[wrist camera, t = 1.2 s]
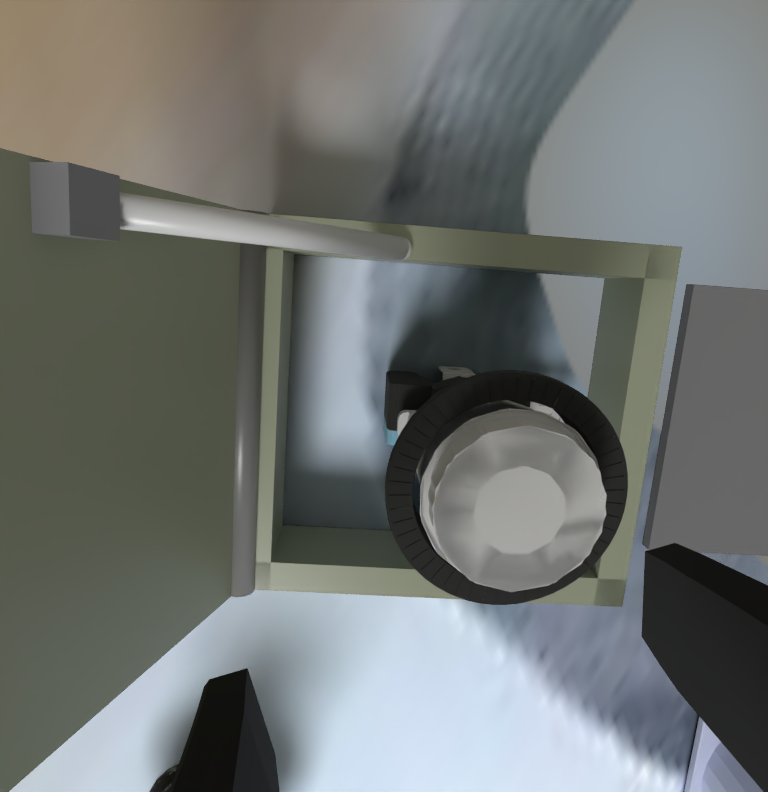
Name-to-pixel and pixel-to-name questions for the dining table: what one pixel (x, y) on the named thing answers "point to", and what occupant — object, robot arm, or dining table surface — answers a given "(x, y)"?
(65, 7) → the dining table surface
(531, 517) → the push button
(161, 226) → the equipment case
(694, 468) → the mat
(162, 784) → the grey tall tiered piece
